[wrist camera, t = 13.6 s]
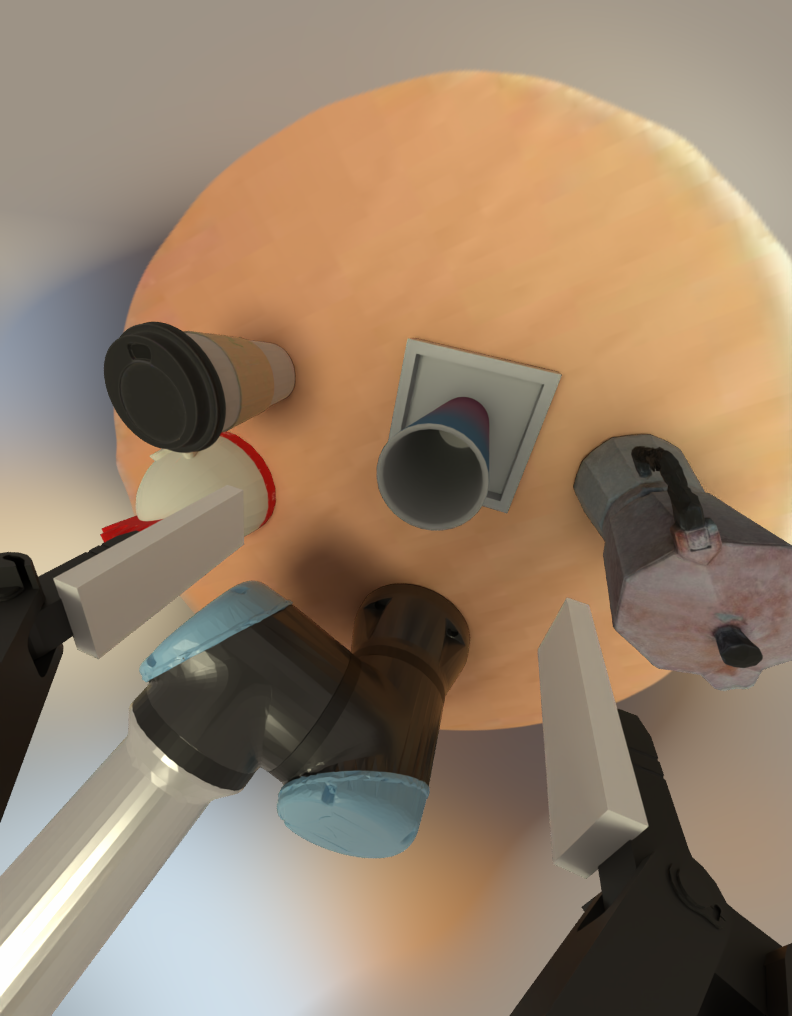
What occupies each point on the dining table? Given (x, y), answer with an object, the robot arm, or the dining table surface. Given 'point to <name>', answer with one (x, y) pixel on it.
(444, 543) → the dining table surface
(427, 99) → the dining table surface
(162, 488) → the kitchen timer
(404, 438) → the cup
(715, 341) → the dining table surface
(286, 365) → the coffee cup
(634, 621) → the moka pot
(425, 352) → the tray
